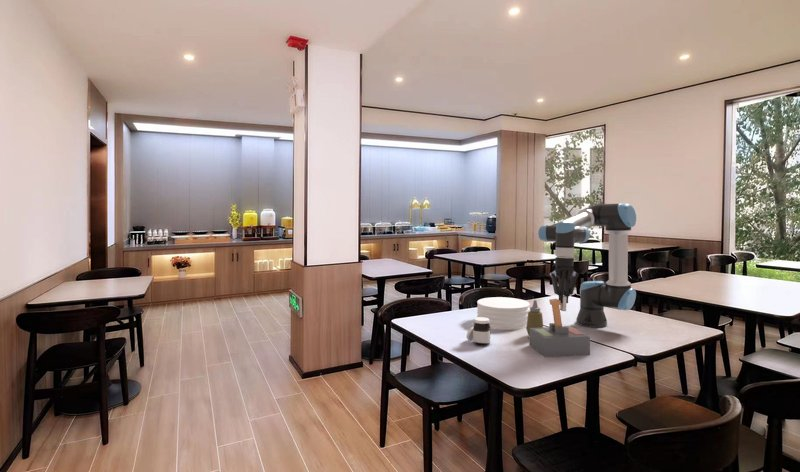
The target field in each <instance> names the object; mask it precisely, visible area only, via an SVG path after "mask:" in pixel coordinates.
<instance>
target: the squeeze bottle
mask: <svg viewBox="0 0 800 472" xmlns="http://www.w3.org/2000/svg"><path fill="white" fill-rule="evenodd" d="M529 308H530V311H529V312H528V318H527V327H526V328H525V329H526V332H527V335H528V336H529V330H530V328H541V327H544V320H543V313H542V312H541V308H540V307H539V306H538V301H537V299H534V300H533V303H532V306H530V307H529Z"/></svg>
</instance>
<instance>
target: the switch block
mask: <svg viewBox="0 0 800 472" xmlns="http://www.w3.org/2000/svg"><path fill="white" fill-rule="evenodd" d="M548 325H549V326H547V327H544V326H543V327H541V328H530V330H529V335H528V339H529V340H528V342H529V346H530V347H531V348H532V349H534V350H535V351H536V352H538V353H539V354H540V355H542V356H543V357H544V358H552V357H553V358H554V357H556V358H558V357H574V356H576V357H577V356H590V355H591V336H590V335H588V334H586V333H585V332H583V331H580V330H579V329H577V328H575V327H573V326H569V325H568V326H567V325H566V326H563V325H562V326H561V327H555V324H554V322H552V323H551V322H550V323H549V324H548Z"/></svg>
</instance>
